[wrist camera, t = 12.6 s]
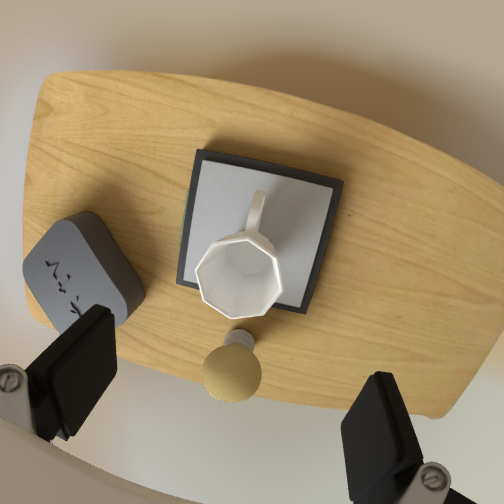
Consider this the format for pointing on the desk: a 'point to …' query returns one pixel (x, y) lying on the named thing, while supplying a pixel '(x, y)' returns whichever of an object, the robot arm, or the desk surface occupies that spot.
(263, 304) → the cup
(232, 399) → the light bulb
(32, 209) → the desk surface
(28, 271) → the streaming box
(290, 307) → the scale
